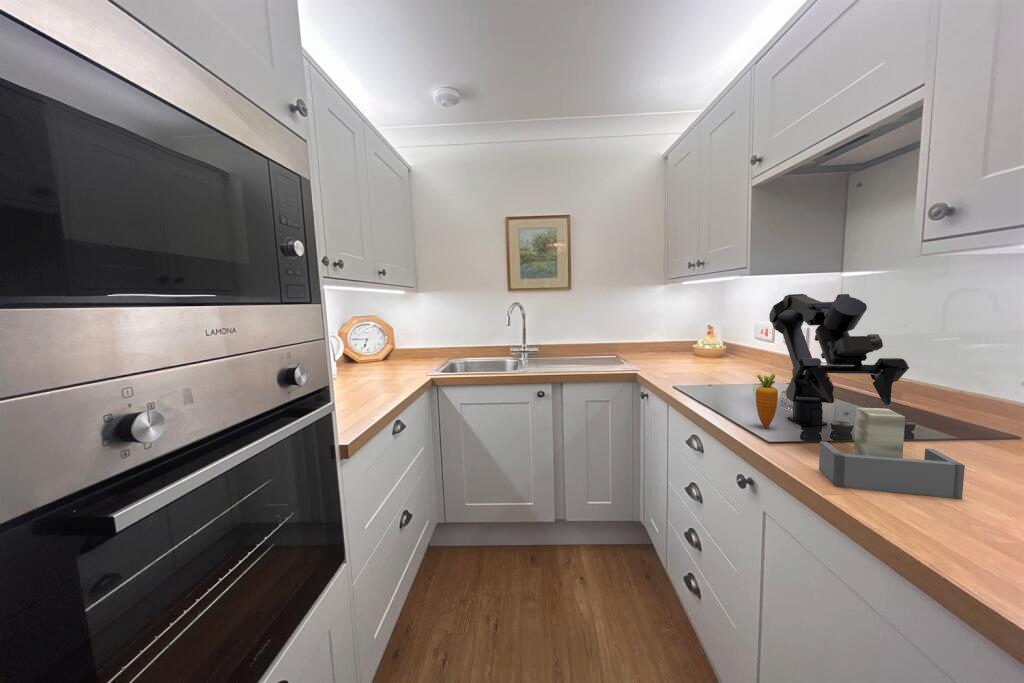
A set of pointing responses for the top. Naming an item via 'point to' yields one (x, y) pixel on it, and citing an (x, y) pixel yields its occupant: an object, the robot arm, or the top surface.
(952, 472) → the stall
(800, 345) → the robot arm
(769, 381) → the carrot
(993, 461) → the top surface
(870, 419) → the sage block
